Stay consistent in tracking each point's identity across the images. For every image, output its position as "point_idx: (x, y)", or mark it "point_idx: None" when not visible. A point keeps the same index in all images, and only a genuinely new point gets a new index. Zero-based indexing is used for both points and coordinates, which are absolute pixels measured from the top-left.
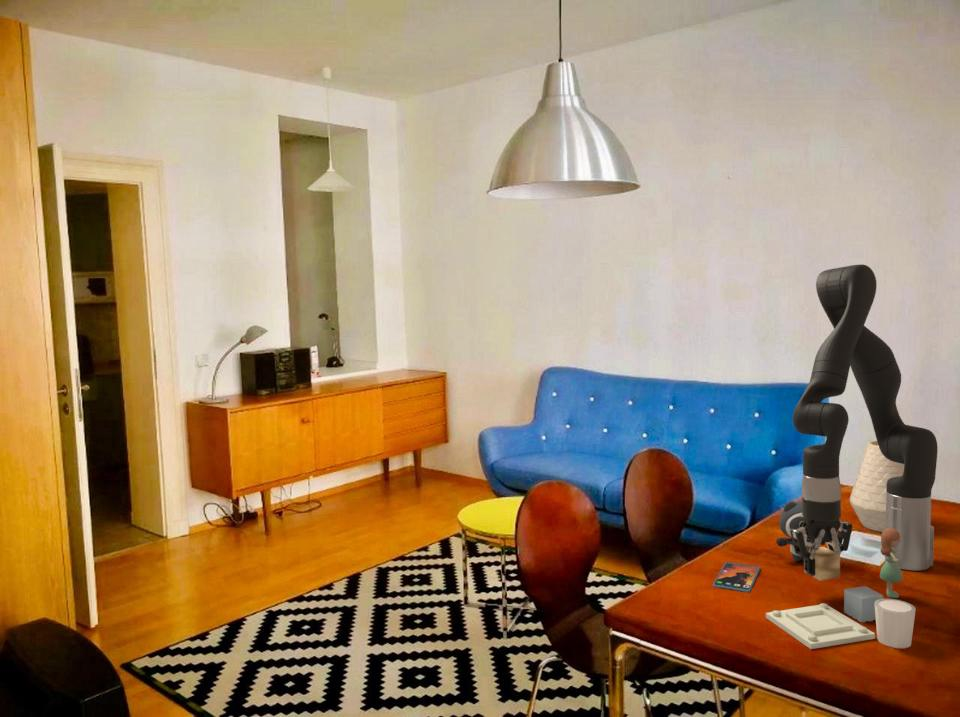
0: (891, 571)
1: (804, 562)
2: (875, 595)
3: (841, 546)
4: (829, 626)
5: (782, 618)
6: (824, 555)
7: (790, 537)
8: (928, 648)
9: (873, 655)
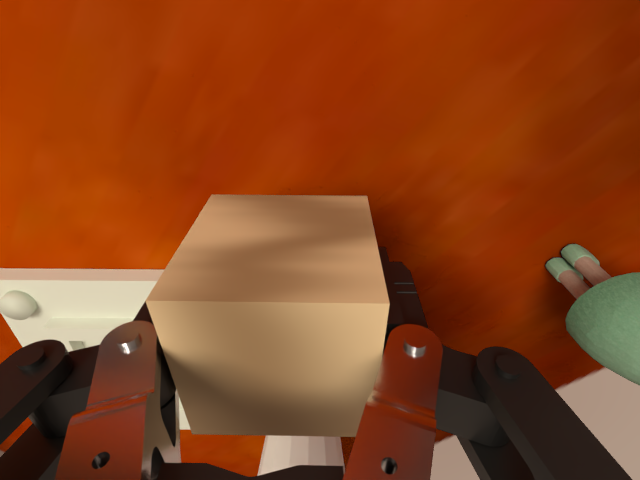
0: (611, 368)
1: (144, 304)
2: None
3: (460, 435)
4: None
5: (36, 324)
6: (253, 419)
7: None
8: (348, 456)
9: (214, 451)
